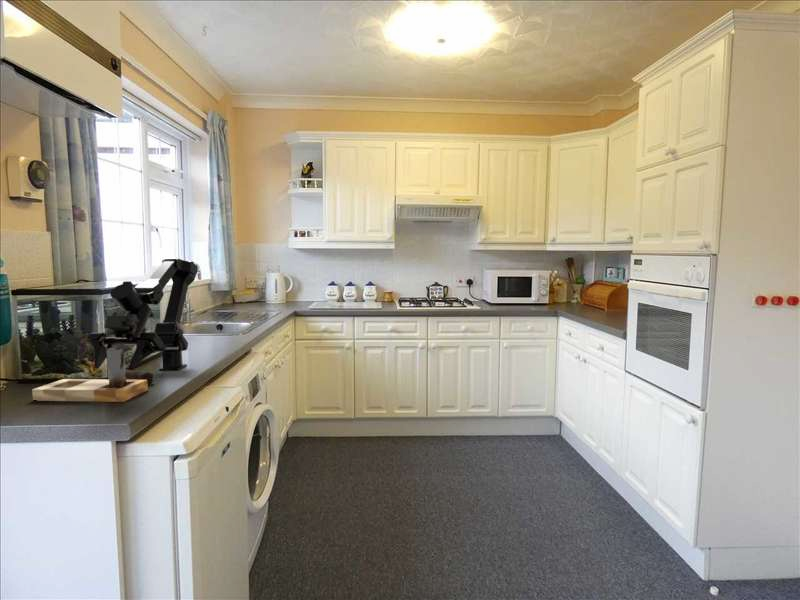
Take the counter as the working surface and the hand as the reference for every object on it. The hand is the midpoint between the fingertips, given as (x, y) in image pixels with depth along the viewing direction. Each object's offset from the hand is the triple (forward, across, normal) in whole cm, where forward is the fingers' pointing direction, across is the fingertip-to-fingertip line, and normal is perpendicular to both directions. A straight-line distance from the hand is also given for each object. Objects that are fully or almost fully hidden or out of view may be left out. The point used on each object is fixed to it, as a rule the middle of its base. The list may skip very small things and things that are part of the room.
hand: (113, 367), depth 117 cm
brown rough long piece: (-4, -6, +16) cm, 18 cm away
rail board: (+4, -8, +7) cm, 11 cm away
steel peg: (+5, 0, +7) cm, 8 cm away
